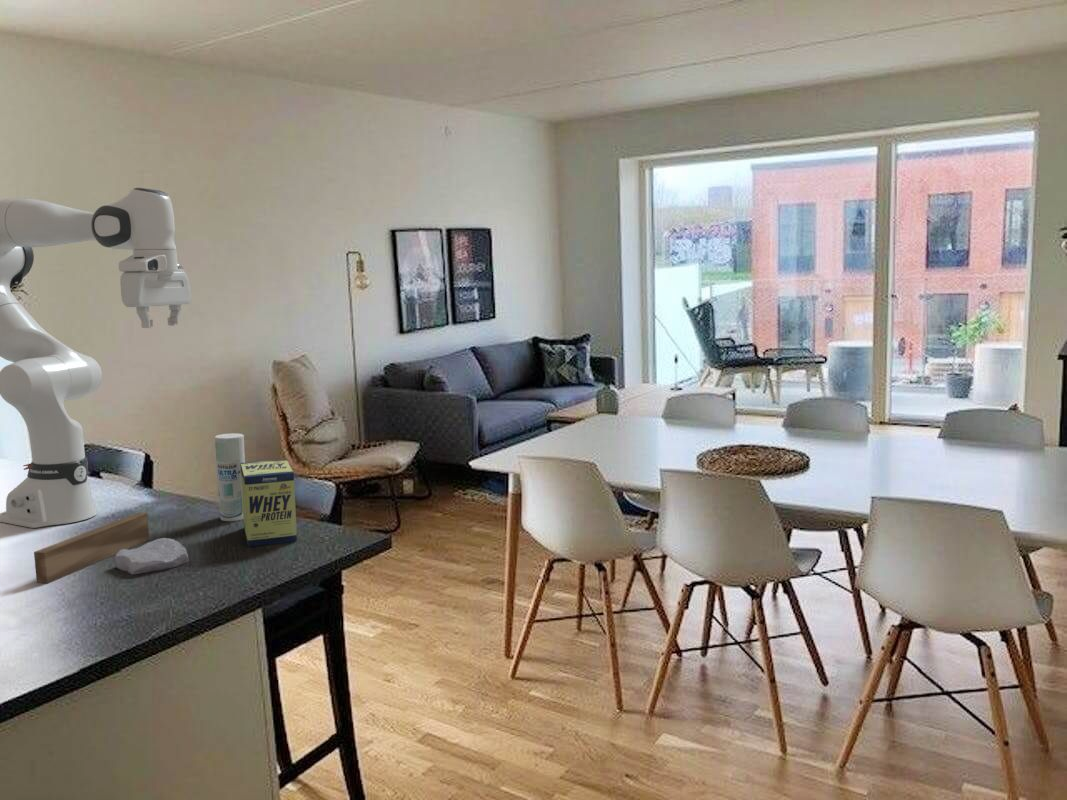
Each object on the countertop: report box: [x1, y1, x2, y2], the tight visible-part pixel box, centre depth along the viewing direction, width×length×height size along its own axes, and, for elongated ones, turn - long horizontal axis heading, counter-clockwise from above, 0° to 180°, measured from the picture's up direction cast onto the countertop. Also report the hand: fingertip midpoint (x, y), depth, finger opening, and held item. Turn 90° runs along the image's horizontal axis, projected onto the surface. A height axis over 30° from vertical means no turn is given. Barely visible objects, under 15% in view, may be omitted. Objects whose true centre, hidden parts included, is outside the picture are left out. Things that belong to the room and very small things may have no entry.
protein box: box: [240, 459, 298, 548], centre depth 192 cm, size 10×16×16 cm
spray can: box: [214, 432, 246, 522], centre depth 205 cm, size 6×6×20 cm
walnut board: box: [33, 512, 150, 584], centre depth 176 cm, size 2×28×6 cm, turn 165°
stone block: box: [114, 537, 189, 575], centre depth 173 cm, size 12×5×10 cm
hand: (160, 326), depth 191 cm, fingers open, 8 cm apart
